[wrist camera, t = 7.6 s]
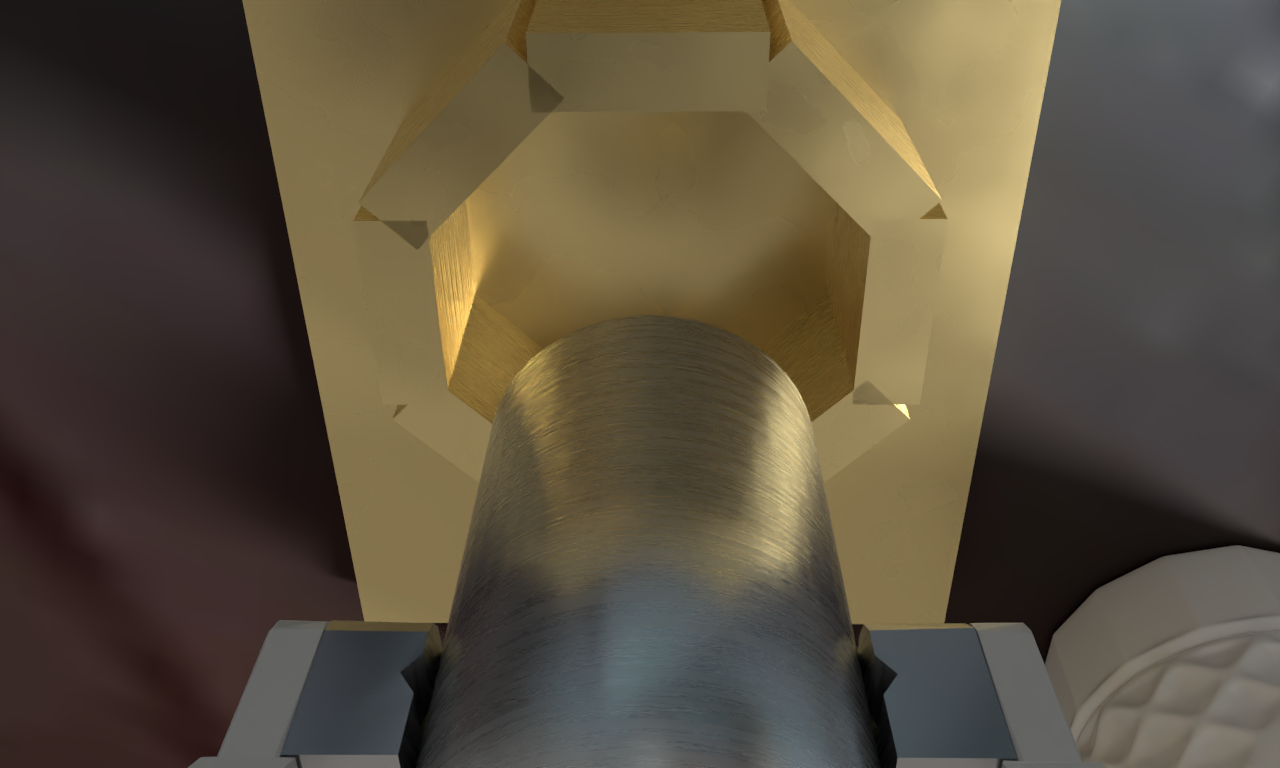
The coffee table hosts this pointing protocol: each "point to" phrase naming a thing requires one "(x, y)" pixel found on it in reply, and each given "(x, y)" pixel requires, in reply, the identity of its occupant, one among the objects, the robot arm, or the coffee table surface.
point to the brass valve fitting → (653, 237)
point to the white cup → (1176, 664)
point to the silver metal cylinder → (650, 569)
